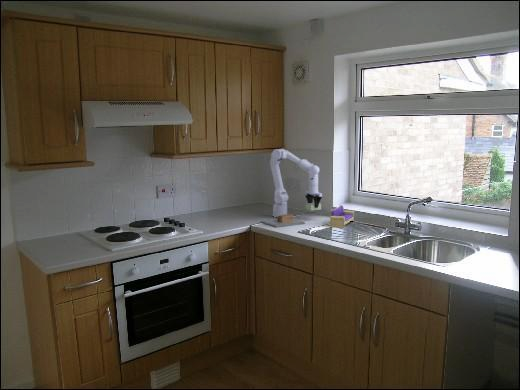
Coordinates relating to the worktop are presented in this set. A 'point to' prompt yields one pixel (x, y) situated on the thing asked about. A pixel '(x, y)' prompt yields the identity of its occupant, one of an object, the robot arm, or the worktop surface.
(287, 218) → the walnut block
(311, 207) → the sage block
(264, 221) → the baseplate
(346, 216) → the toy sofa
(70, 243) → the worktop surface
